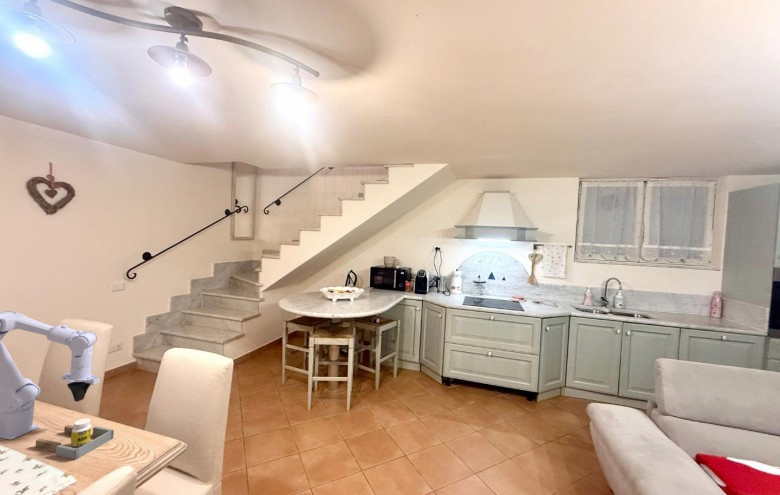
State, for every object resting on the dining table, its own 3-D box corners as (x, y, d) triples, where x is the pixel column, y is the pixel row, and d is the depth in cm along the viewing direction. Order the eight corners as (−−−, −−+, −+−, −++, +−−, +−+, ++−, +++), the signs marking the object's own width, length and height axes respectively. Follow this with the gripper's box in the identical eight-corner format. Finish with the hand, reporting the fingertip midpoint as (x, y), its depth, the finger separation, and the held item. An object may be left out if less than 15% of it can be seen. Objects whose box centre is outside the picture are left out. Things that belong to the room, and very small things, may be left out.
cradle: (55, 455, 100) (56, 446, 100) (94, 434, 112) (95, 426, 112) (75, 459, 99) (76, 450, 99) (113, 437, 111) (113, 429, 111)
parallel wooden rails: (35, 447, 103) (36, 440, 103) (67, 431, 112) (67, 425, 112) (57, 451, 102) (57, 444, 102) (87, 435, 111) (88, 429, 111)
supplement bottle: (76, 451, 103) (78, 426, 103) (66, 448, 104) (68, 423, 104) (93, 442, 107) (95, 419, 107) (83, 439, 109) (85, 416, 109)
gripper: (53, 366, 113) (50, 402, 113) (85, 371, 110) (82, 408, 111) (75, 359, 120) (73, 393, 120) (106, 364, 117) (103, 399, 118)
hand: (79, 400), depth 116 cm, fingers closed
